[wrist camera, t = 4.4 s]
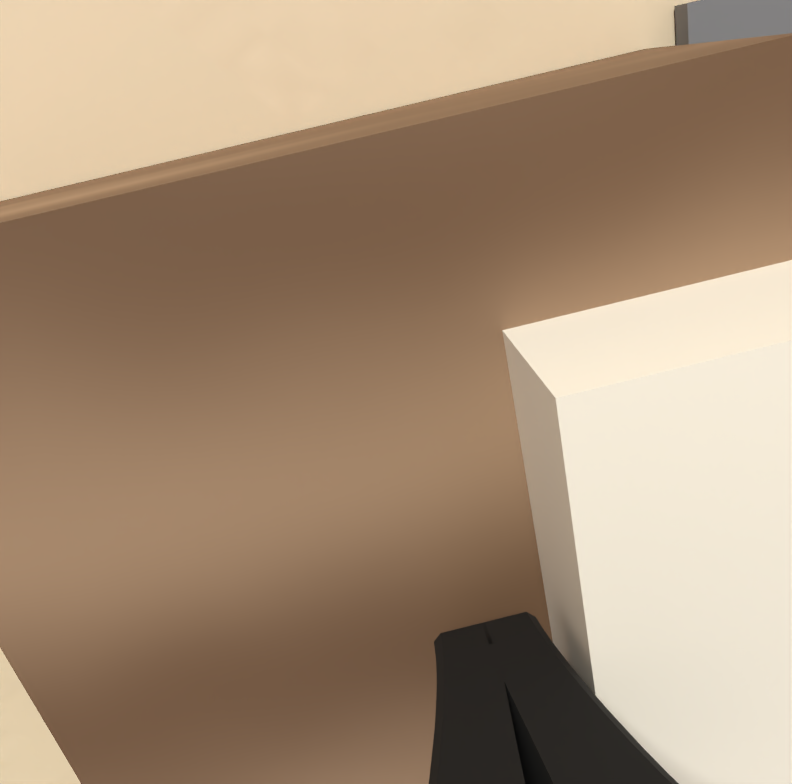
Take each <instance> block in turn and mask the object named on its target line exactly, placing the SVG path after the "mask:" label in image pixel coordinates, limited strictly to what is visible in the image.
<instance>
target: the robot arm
mask: <svg viewBox="0 0 792 784" xmlns="http://www.w3.org/2000/svg"><path fill="white" fill-rule="evenodd" d="M434 647H435V655H436V672H437V692H436V714H435V730H434V739H433V749H432V758H431V767H430V776H429V784H679V783H678V782H676V781H675V780H674V779H673V778H672V777H671V776H670V775H669V774H668V773H667V772H666V771H665V770H664V769H663V768H662V767H661V766H660V765H659V764H658V763H657V761H656V760H655V759H654V758H653V757H652V756H651V755H650V754H649V753H648V752H647V751H646V750H645V749H644V748H643V747H642V746H641V745H640V744H639V743H638V742H637V741H636V739H635V738H634V737H633V736H632V735H631V734H630V733H629V732H628V731H627V730H626V729H625V728H624V726H623V725H622V724H621V723H620V722H619V721H618V720H617V719H616V718H615V717H614V716H613V715H612V713H611V712H610V711H609V710H608V709H607V708H606V707H605V706H604V705H603V703H602V702H601V701H600V700H599V699H598V698H597V697H596V695H595V694H594V693H593V692H592V691H591V690H590V689H589V687H588V686H587V685H586V684H585V682H584V681H583V680H582V679H581V678H580V676H579V675H578V674H577V673H576V672H575V670H574V669H573V668H572V667H571V665H570V664H569V663H568V662H567V660H566V659H565V658H564V657H563V655H562V654H561V653H560V651H559V650H558V649H557V647H556V646H555V645H554V643H553V642H552V641H551V639H550V638H549V636H548V635H547V633H546V632H545V631H544V629H543V628H542V626H541V625H540V623H539V622H538V620H537V618H536V617H535V616H533V615H531V614H530V613H528V612H523V613H519V614H515V615H511V616H507V617H503V618H499V619H495V620H491V621H487V622H483V623H479V624H475V625H471V626H467V627H463V628H459V629H455V630H451V631H447V632H443V633H440V634H439V636H438V637H437V638H436V640H435V641H434Z"/></svg>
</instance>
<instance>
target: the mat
mask: <svg viewBox="0 0 792 784" xmlns="http://www.w3.org/2000/svg"><path fill="white" fill-rule="evenodd" d="M675 25H676V46H678V45H687V44H697V43H706V42H715V41H724V40H734V39H743V38H752V37H761V36H771V35H780V34H789V33H792V0H699V1H695V2H691V3H686V4H682V5H678V6H675Z"/></svg>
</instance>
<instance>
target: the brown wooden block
mask: <svg viewBox="0 0 792 784" xmlns="http://www.w3.org/2000/svg"><path fill="white" fill-rule="evenodd" d="M790 260H792V33H789V34H780V35H771V36H761V37H752V38H743V39H734V40H724V41H715V42H706V43H697V44H687V45H678V46H669V47H660V48H650V49H643V50H639V51H635V52H631V53H626V54H622V55H618V56H614V57H610V58H605V59H601V60H597V61H593V62H588V63H584V64H580V65H576V66H571V67H567V68H563V69H559V70H555V71H550V72H546V73H542V74H538V75H533V76H529V77H525V78H521V79H516V80H512V81H508V82H504V83H500V84H495V85H491V86H487V87H483V88H478V89H474V90H470V91H466V92H461V93H457V94H453V95H449V96H445V97H440V98H436V99H432V100H428V101H423V102H419V103H415V104H411V105H406V106H402V107H398V108H394V109H390V110H385V111H381V112H377V113H373V114H368V115H364V116H360V117H356V118H351V119H347V120H343V121H339V122H335V123H330V124H326V125H322V126H318V127H313V128H309V129H305V130H301V131H296V132H292V133H288V134H284V135H280V136H275V137H271V138H267V139H263V140H258V141H254V142H250V143H246V144H241V145H237V146H233V147H229V148H225V149H220V150H216V151H212V152H208V153H203V154H199V155H195V156H191V157H186V158H182V159H178V160H174V161H170V162H165V163H161V164H157V165H153V166H148V167H144V168H140V169H136V170H131V171H127V172H123V173H119V174H115V175H110V176H106V177H102V178H98V179H93V180H89V181H85V182H81V183H76V184H72V185H68V186H64V187H60V188H55V189H51V190H47V191H43V192H38V193H34V194H30V195H26V196H21V197H17V198H13V199H9V200H5V201H0V648H1V649H2V651H3V653H4V654H5V656H6V658H7V659H8V661H9V663H10V664H11V666H12V668H13V670H14V671H15V673H16V675H17V676H18V678H19V680H20V681H21V683H22V685H23V686H24V688H25V690H26V691H27V693H28V695H29V696H30V698H31V700H32V701H33V703H34V705H35V706H36V708H37V710H38V712H39V713H40V715H41V717H42V718H43V720H44V722H45V723H46V725H47V727H48V728H49V730H50V732H51V733H52V735H53V737H54V738H55V740H56V742H57V743H58V745H59V747H60V748H61V750H62V752H63V754H64V755H65V757H66V759H67V760H68V762H69V764H70V765H71V767H72V769H73V770H74V772H75V774H76V775H77V777H78V779H79V780H80V782H81V784H429V776H430V767H431V758H432V749H433V739H434V730H435V714H436V692H437V672H436V655H435V647H434V641H435V640H436V638H437V637H438V636H439V634H440V633H443V632H447V631H451V630H455V629H459V628H463V627H467V626H471V625H475V624H479V623H483V622H487V621H491V620H495V619H499V618H503V617H507V616H511V615H515V614H519V613H523V612H528V613H530V614H531V615H533V616H535V617H536V618H537V620H538V622H539V623H540V625H541V626H542V628H543V629H544V631H545V632H546V633H547V635H548V636H549V638H550V639H551V641H552V642H553V640H552V634H551V627H550V621H549V615H548V609H547V603H546V597H545V590H544V584H543V578H542V572H541V566H540V560H539V554H538V547H537V541H536V535H535V529H534V523H533V517H532V510H531V504H530V498H529V492H528V486H527V480H526V473H525V467H524V461H523V455H522V449H521V443H520V436H519V430H518V424H517V418H516V412H515V406H514V399H513V393H512V387H511V381H510V375H509V369H508V362H507V356H506V350H505V344H504V338H503V332H502V330H506V329H510V328H514V327H518V326H522V325H526V324H531V323H535V322H539V321H543V320H547V319H551V318H555V317H559V316H563V315H568V314H572V313H576V312H580V311H584V310H588V309H592V308H596V307H600V306H605V305H609V304H613V303H617V302H621V301H625V300H629V299H633V298H637V297H642V296H646V295H650V294H654V293H658V292H662V291H666V290H670V289H674V288H679V287H683V286H687V285H691V284H695V283H699V282H703V281H707V280H712V279H716V278H720V277H724V276H728V275H732V274H736V273H740V272H744V271H749V270H753V269H757V268H761V267H765V266H769V265H773V264H777V263H781V262H786V261H790Z"/></svg>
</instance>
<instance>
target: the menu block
mask: <svg viewBox="0 0 792 784" xmlns="http://www.w3.org/2000/svg"><path fill="white" fill-rule="evenodd" d="M502 332H503V338H504V344H505V350H506V356H507V362H508V369H509V375H510V381H511V387H512V393H513V399H514V406H515V412H516V418H517V424H518V430H519V436H520V443H521V449H522V455H523V461H524V467H525V473H526V480H527V486H528V492H529V498H530V504H531V510H532V517H533V523H534V529H535V535H536V541H537V547H538V554H539V560H540V566H541V572H542V578H543V584H544V590H545V597H546V603H547V609H548V615H549V621H550V627H551V634H552V640H553V643H554V645H555V646H556V647H557V649H558V650H559V651H560V653H561V654H562V655H563V657H564V658H565V659H566V660H567V662H568V663H569V664H570V665H571V667H572V668H573V669H574V670H575V672H576V673H577V674H578V675H579V676H580V678H581V679H582V680H583V681H584V682H585V684H586V685H587V686H588V687H589V689H590V690H591V691H592V692H593V693H594V694H595V695H596V697H597V698H598V699H599V700H600V701H601V702H602V703H603V705H604V706H605V707H606V708H607V709H608V710H609V711H610V712H611V713H612V715H613V716H614V717H615V718H616V719H617V720H618V721H619V722H620V723H621V724H622V725H623V726H624V728H625V729H626V730H627V731H628V732H629V733H630V734H631V735H632V736H633V737H634V738H635V739H636V741H637V742H638V743H639V744H640V745H641V746H642V747H643V748H644V749H645V750H646V751H647V752H648V753H649V754H650V755H651V756H652V757H653V758H654V759H655V760H656V761H657V763H658V764H659V765H660V766H661V767H662V768H663V769H664V770H665V771H666V772H667V773H668V774H669V775H670V776H671V777H672V778H673V779H674V780H675V781H676V782H678V783H679V784H792V260H790V261H786V262H781V263H777V264H773V265H769V266H765V267H761V268H757V269H753V270H749V271H744V272H740V273H736V274H732V275H728V276H724V277H720V278H716V279H712V280H707V281H703V282H699V283H695V284H691V285H687V286H683V287H679V288H674V289H670V290H666V291H662V292H658V293H654V294H650V295H646V296H642V297H637V298H633V299H629V300H625V301H621V302H617V303H613V304H609V305H605V306H600V307H596V308H592V309H588V310H584V311H580V312H576V313H572V314H568V315H563V316H559V317H555V318H551V319H547V320H543V321H539V322H535V323H531V324H526V325H522V326H518V327H514V328H510V329H506V330H502Z"/></svg>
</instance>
